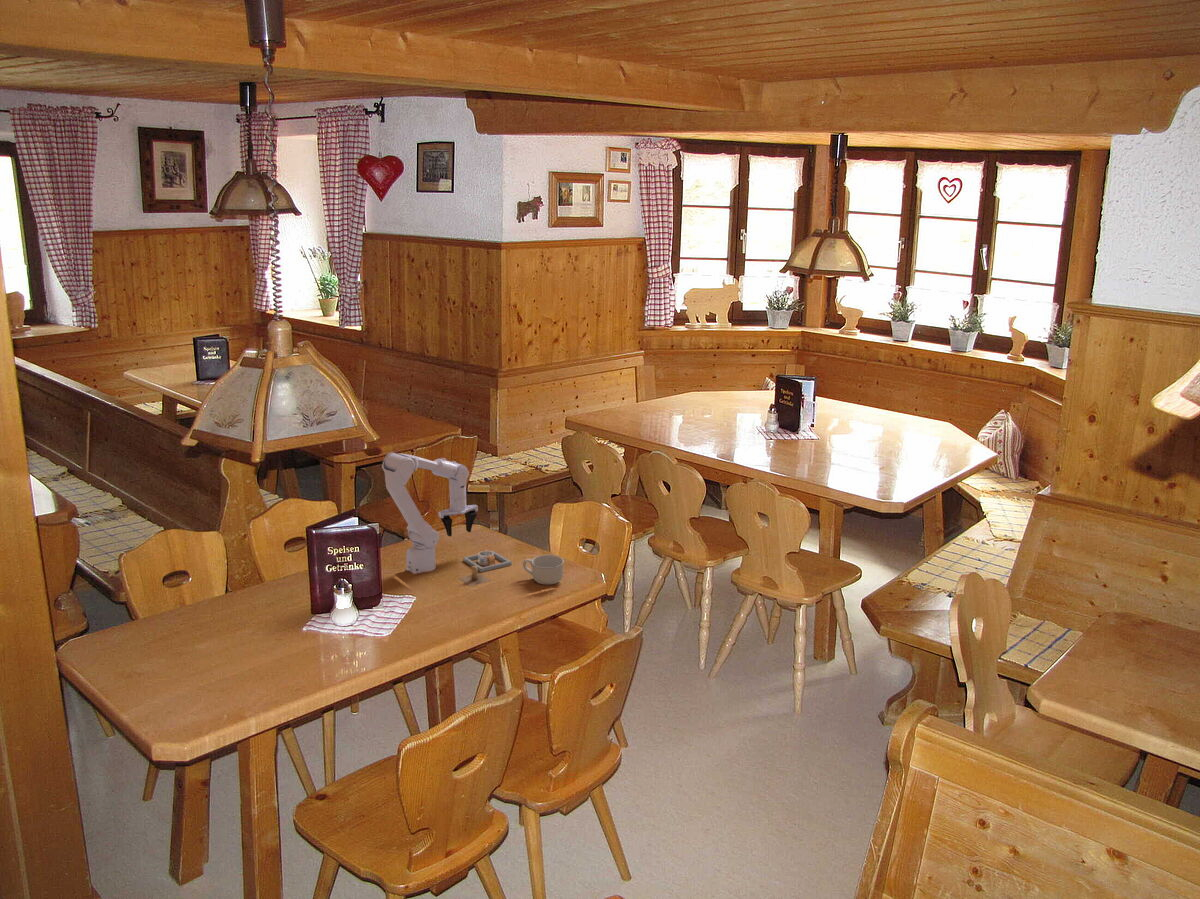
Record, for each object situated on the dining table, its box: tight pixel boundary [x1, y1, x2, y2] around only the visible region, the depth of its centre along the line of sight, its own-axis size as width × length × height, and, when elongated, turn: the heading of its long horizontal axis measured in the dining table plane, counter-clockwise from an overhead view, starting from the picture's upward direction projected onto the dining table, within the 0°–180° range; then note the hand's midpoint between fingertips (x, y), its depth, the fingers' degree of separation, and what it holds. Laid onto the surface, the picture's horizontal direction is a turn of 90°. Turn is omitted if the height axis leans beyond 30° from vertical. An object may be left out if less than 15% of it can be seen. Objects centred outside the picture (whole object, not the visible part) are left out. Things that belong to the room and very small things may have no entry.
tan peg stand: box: [458, 566, 492, 587], centre depth 330 cm, size 8×8×5 cm
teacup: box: [522, 554, 565, 586], centre depth 330 cm, size 14×11×8 cm
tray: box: [462, 550, 513, 573], centre depth 345 cm, size 12×13×2 cm
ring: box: [477, 550, 496, 566], centre depth 345 cm, size 6×7×4 cm
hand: (459, 533), depth 349 cm, fingers open, 7 cm apart
